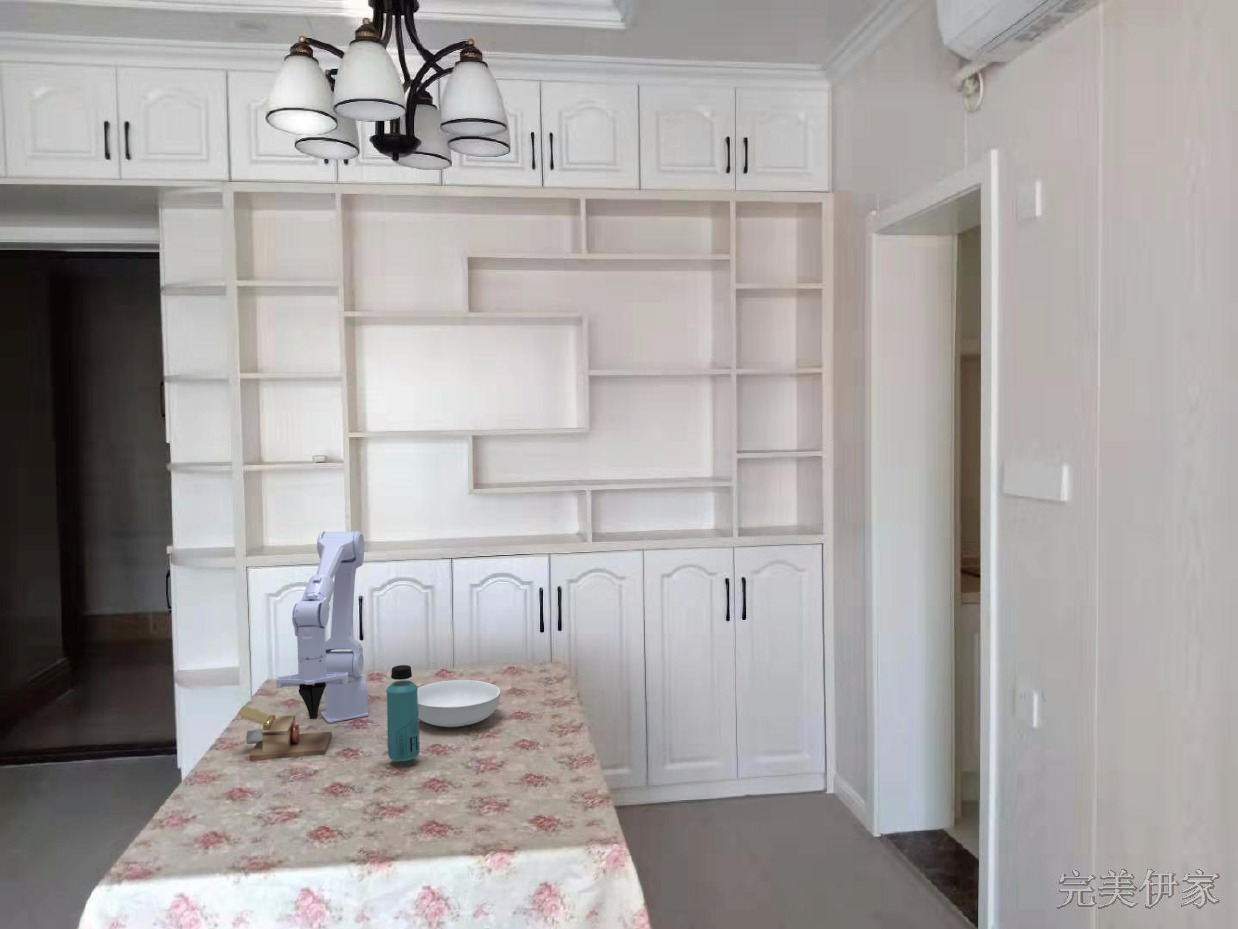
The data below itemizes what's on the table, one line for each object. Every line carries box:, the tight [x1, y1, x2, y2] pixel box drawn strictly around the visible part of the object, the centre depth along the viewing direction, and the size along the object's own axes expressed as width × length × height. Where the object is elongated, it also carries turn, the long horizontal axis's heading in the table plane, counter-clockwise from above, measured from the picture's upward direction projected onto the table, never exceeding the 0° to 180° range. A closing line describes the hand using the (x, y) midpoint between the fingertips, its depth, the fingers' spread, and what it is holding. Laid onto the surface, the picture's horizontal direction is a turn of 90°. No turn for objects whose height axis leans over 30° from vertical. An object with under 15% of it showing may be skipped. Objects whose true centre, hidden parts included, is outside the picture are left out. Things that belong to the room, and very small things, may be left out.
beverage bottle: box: [386, 664, 421, 762], centre depth 177 cm, size 6×7×20 cm
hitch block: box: [249, 714, 333, 761], centre depth 186 cm, size 15×11×6 cm
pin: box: [245, 724, 301, 745], centre depth 185 cm, size 10×4×4 cm, turn 101°
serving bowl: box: [417, 679, 501, 728], centre depth 202 cm, size 21×21×7 cm
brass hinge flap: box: [236, 705, 274, 726], centre depth 184 cm, size 7×4×1 cm, turn 101°
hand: (313, 717), depth 187 cm, fingers closed
